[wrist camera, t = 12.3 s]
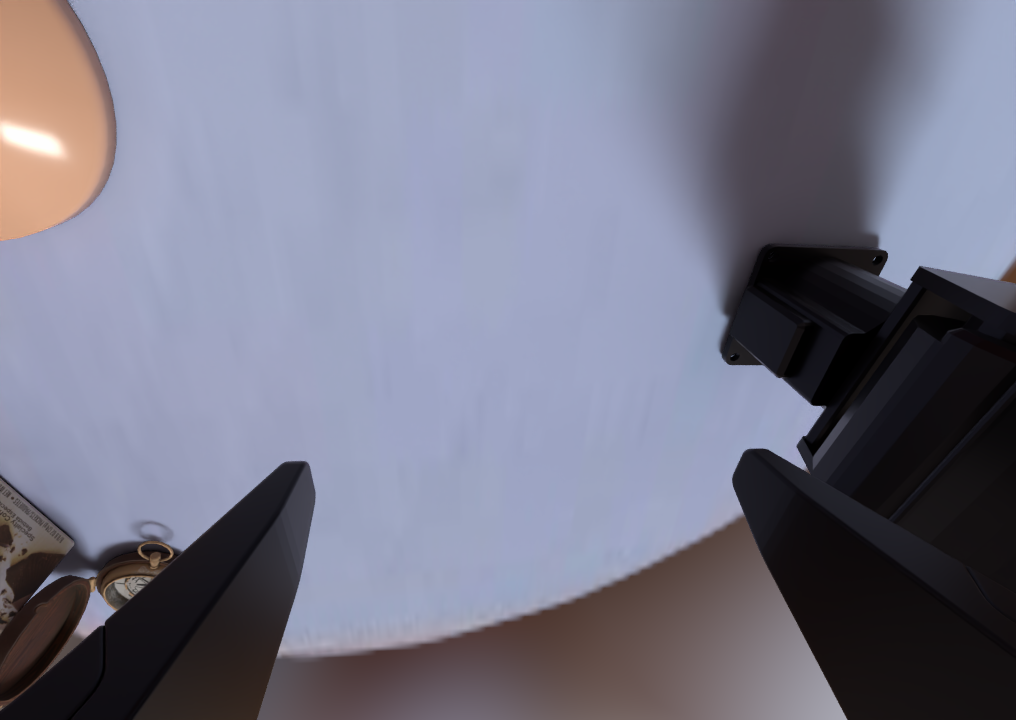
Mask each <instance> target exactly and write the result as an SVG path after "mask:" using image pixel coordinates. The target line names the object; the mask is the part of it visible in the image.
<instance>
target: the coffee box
mask: <svg viewBox="0 0 1016 720" xmlns="http://www.w3.org/2000/svg"><path fill="white" fill-rule="evenodd" d="M73 546H74V541H73V540H72V539H71V538H69V537H68V536H67V535H66V534H65V533H63V532H62V531H61V530H60V529H59V528H58V527H56V526H55V525H54V524H53V523H52V522H51V521H49V520H48V519H47V518H46V517H45V516H44V515H42V514H41V513H40V512H39V511H38V510H37V509H36V508H34V507H33V506H32V505H31V504H30V503H29V502H27V501H26V500H25V499H24V498H23V497H22V496H20V495H19V494H18V493H17V492H16V491H15V490H13V489H12V488H11V487H10V486H9V485H8V484H7V483H5V482H4V481H3V480H2V479H1V478H0V634H1V633H2V632H3V631H4V629H5V628H6V627H7V626H8V624H9V623H10V622H11V620H12V619H13V618H14V616H15V615H16V614H17V613H18V612H19V611H20V610H21V608H22V607H23V606H24V605H25V604H26V603H27V601H28V600H29V599H30V598H31V597H32V595H33V594H34V593H35V592H36V590H37V589H38V588H39V587H40V586H41V584H42V583H43V582H44V581H45V580H46V578H47V577H48V576H49V575H50V573H51V572H52V571H53V570H54V569H55V567H56V566H57V565H58V564H59V563H60V561H61V560H62V559H63V558H64V557H65V556H66V554H67V553H68V552H69V551H70V550H71V548H72V547H73Z"/></svg>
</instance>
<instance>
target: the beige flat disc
mask: <svg viewBox="0 0 1016 720" xmlns="http://www.w3.org/2000/svg"><path fill="white" fill-rule="evenodd" d="M115 151H116V120H115V113H114V106H113V101H112V97H111V93H110V90H109V86H108V82H107V79H106V76H105V73H104V71H103V68H102V66H101V63H100V61H99V58H98V56H97V53H96V51H95V49H94V47H93V45H92V43H91V41H90V39H89V37H88V36H87V34H86V32H85V30H84V28H83V26H82V24H81V23H80V21H79V19H78V18H77V16H76V15H75V13H74V11H73V10H72V8H71V7H70V5H69V4H68V2H67V0H0V241H3V240H9V239H15V238H21V237H24V236H27V235H31V234H34V233H37V232H40V231H43V230H45V229H48V228H51V227H54V226H56V225H59V224H62V223H64V222H66V221H68V220H70V219H72V218H74V217H76V216H77V215H79V214H80V213H81V212H82V211H84V210H85V209H86V208H88V207H89V206H90V205H91V204H92V203H93V201H94V200H95V199H96V198H97V197H98V196H99V195H100V193H101V191H102V190H103V188H104V186H105V184H106V183H107V181H108V179H109V176H110V173H111V170H112V167H113V164H114V157H115Z"/></svg>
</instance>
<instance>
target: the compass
mask: <svg viewBox="0 0 1016 720" xmlns="http://www.w3.org/2000/svg"><path fill="white" fill-rule="evenodd" d="M145 544H159V545H162V546H164V547H166V548H167V549H168V550H169V551H170V554H169V553H162V552H155V551H143V552H141V547H142V546H143V545H145ZM137 550H138V552H134V553H129V554H124V555H121V556H119V557H116V558H114V559H112V560H110V561H109V562H108V563H107V564H106V565H105V566H104V567H103V569H102V570H101V571H99V573H98V575H97V577H96V578H95V577H91V578H89V579H85V578H81V577H77V576H72V575H68V576H64V577H61V578H59V579H57V580H56V581H54V582H52V583H51V584H49V585H48V586H46V587H44V588H43V589H42V590H41V591H40V592H38V593H37V594H36V595H35V596H34V597H32V598H31V599H30V600H29V601H28V602H27V603H26V604H25V605H24V606H23V607H22V609H21V610H20V611H19V612H18V613H17V614H16V615H15V616H14V618H13V619H12V620H11V622H10V623H9V624H8V626H7V627H6V628H5V629H4V631H3V632H2V633H1V634H0V708H3V707H5V706H7V705H8V704H9V703H11V702H12V701H13V700H14V699H16V698H17V697H18V696H19V695H20V694H22V693H23V692H24V691H25V690H27V689H28V688H29V687H30V686H31V685H33V684H34V683H35V682H36V681H37V680H38V679H39V678H40V677H41V676H42V675H43V674H44V672H45V671H46V670H47V669H48V668H49V666H50V665H51V664H52V663H53V661H54V660H55V659H56V658H57V656H58V655H59V653H60V652H61V651H62V649H63V648H64V646H65V645H66V644H67V642H68V641H69V639H70V637H71V636H72V634H73V632H74V631H75V629H76V627H77V626H78V624H79V622H80V620H81V617H82V615H83V613H84V611H85V609H86V606H87V603H88V600H89V597H90V592H94V591H95V587H96V586H97V589H98V592H99V593H100V594H101V595H102V597H103V598H104V600H105V601H106V603H107V604H108V605H109V606H110V607H112V608H113V609H114V610H116V611H117V610H118V609H119V608H121V607H122V606H123V605H124V604H125V603H126V602H127V601H128V600H130V599H131V598H132V597H133V596H134V595H135V594H136V593H137V592H138V591H140V590H141V589H142V588H143V587H144V586H145V585H146V584H147V583H149V582H150V581H151V580H152V579H153V578H154V577H155V576H156V575H158V574H159V573H160V572H161V571H162V570H163V569H164V568H165V567H167V566H168V565H169V564H170V563H171V562H172V561H173V560H174V559H176V558H177V557H178V556H176V555H173V554H174V553H173V549H172V548H171V547H170V546H169V545H167V544H165V543H163V542H159V541H147V542H143V543H142V544H140V545H139V546H138V549H137Z"/></svg>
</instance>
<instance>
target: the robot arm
mask: <svg viewBox="0 0 1016 720" xmlns="http://www.w3.org/2000/svg"><path fill="white" fill-rule="evenodd" d="M773 252H774V255H773V256H772V257H771V258H770V259H769V256H770V254H771V253H773ZM875 257H876V258H875ZM874 258H875V260H874V261H873V259H874ZM887 259H888V253H887V252H886V251H884V250H881V249H879V248H869V247H843V246H817V245H791V244H769V245H767V246H765V247H764V248H763V249H762V250H761V251H760V253H759V255H758V258H757V261H756V264H755V266H754V269H753V272H752V274H751V277H750V280H749V282H748V285H747V288H746V290H745V292H744V295H743V298H742V300H741V303H740V306H739V309H738V311H737V314H736V317H735V319H734V322H733V325H732V328H731V330H730V334H729V337H728V339H727V342H726V345H725V347H724V350H723V353H722V358H723V360H724V361H725V362H726V363H727V364H729V365H764V366H765V367H766V368H767V369H768V370H769V371H771V372H772V373H773V374H774V375H775V376H776V377H778V378H782V379H783V380H784V381H785V382H786V383H788V384H789V385H790V386H791V387H792V388H793V389H794V390H795V391H797V392H798V393H799V394H800V395H801V396H802V397H803V398H804V399H806V400H807V401H808V402H809V403H810V404H811V405H813V406H821V407H822V408H824V411H823V412H822V414H821V415H820V417H819V418H818V420H817V421H816V422H815V424H814V425H813V427H812V428H811V430H810V431H809V433H808V434H807V436H803V437H802V438H801V440H800V441H799V443H798V444H797V448H798V450H799V452H800V454H801V456H802V458H803V460H804V462H805V464H806V466H807V468H808V470H809V472H810V474H809V473H807V472H806V471H804V470H802V469H800V468H799V467H797V466H795V465H793V464H792V463H790V462H788V461H787V460H785V459H783V458H781V457H780V456H778V455H776V454H775V453H773V452H771V451H769V450H767V449H747V450H746V451H744V453H743V454H742V456H741V459H740V461H739V463H738V465H737V467H736V469H735V472H734V474H733V478H732V483H733V487H734V490H735V492H736V495H737V497H738V500H739V502H740V505H741V507H742V510H743V512H744V515H745V517H746V519H747V522H748V524H749V527H750V529H751V532H752V534H753V537H754V539H755V542H756V544H757V546H758V548H759V551H760V553H761V555H762V557H763V559H764V561H765V563H766V565H767V567H768V569H769V571H770V573H771V575H772V577H773V578H774V580H775V582H776V584H777V586H778V588H779V590H780V592H781V594H782V595H783V597H784V599H785V601H786V603H787V605H788V607H789V609H790V611H791V613H792V615H793V616H794V618H795V620H796V622H797V624H798V626H799V628H800V630H801V632H802V634H803V636H804V638H805V640H806V641H807V643H808V645H809V647H810V649H811V651H812V653H813V655H814V656H815V659H816V660H817V662H818V664H819V666H820V668H821V670H822V672H823V674H824V676H825V678H826V680H827V681H828V683H829V685H830V687H831V689H832V691H833V693H834V695H835V697H836V699H837V700H838V703H839V705H840V706H841V708H842V710H843V712H844V714H845V716H846V718H847V720H1016V284H1014V283H1009V282H1004V281H999V280H993V279H988V278H983V277H977V276H972V275H966V274H961V273H956V272H950V271H945V270H940V269H934V268H929V267H923V266H919V268H918V269H917V271H916V272H915V274H914V275H913V277H912V278H911V279H910V280H911V281H913V282H912V283H911V285H910V286H909V288H908V289H905V288H903V287H901V286H899V285H897V284H894V283H892V282H890V281H888V280H886V279H883V278H881V277H879V275H880V273H881V271H882V269H883V267H884V265H885V263H886V261H887ZM734 353H735V355H734V356H732V355H733V354H734ZM731 356H732V357H731ZM314 505H315V488H314V483H313V479H312V474H311V470H310V466H309V464H308V463H307V462H306V461H288V462H284V463H282V464H281V465H280V466H279V467H278V468H277V469H275V470H274V471H273V472H272V473H271V474H270V475H269V476H268V477H266V478H265V479H264V480H263V481H262V482H261V483H260V484H259V485H257V486H256V487H255V488H254V489H253V490H252V491H251V492H250V493H248V494H247V495H246V496H245V497H244V498H243V499H242V500H241V501H240V502H238V503H237V504H236V505H235V506H234V507H233V508H232V509H231V510H229V511H228V512H227V513H226V514H225V515H224V516H223V517H222V518H220V519H219V520H218V521H217V522H216V523H215V524H214V525H213V526H211V527H210V528H209V529H208V530H207V531H206V532H205V533H204V534H202V535H201V536H200V537H199V538H198V539H197V540H196V541H195V542H193V543H192V544H191V545H190V546H189V547H188V548H187V549H186V550H185V551H183V552H182V553H181V554H180V555H179V556H178V557H177V558H176V559H174V560H173V561H172V562H171V563H170V564H169V565H168V566H167V567H165V568H164V569H163V570H162V571H161V572H160V573H159V574H158V575H156V576H155V577H154V578H153V579H152V580H151V581H150V582H149V583H147V584H146V585H145V586H144V587H143V588H142V589H141V590H140V591H138V592H137V593H136V594H135V595H134V596H133V597H132V598H131V599H130V600H128V601H127V602H126V603H125V604H124V605H123V606H122V607H121V608H119V609H118V610H117V611H116V612H115V613H114V614H113V615H112V616H110V617H109V618H108V619H107V620H106V621H105V626H99V627H98V628H97V629H96V630H94V631H93V632H92V633H91V634H90V635H89V636H88V637H87V638H85V639H84V640H83V641H82V642H81V643H80V644H79V645H78V646H76V647H75V648H74V649H73V650H72V651H71V652H70V653H68V654H67V655H66V656H65V657H64V658H63V659H62V660H60V661H59V662H58V663H57V664H56V665H55V666H53V667H52V668H51V669H50V670H49V671H48V672H46V673H45V674H44V675H43V676H42V677H41V678H39V679H38V680H37V681H36V682H35V683H34V684H33V685H31V686H30V687H29V688H28V689H27V690H25V691H24V692H23V693H22V694H20V695H19V696H18V697H17V698H16V699H14V700H13V701H12V702H11V703H9V704H8V705H7V706H6V707H4V708H3V709H2V710H1V711H0V720H257V717H258V714H259V711H260V708H261V705H262V701H263V698H264V695H265V692H266V688H267V685H268V682H269V679H270V676H271V673H272V669H273V666H274V663H275V660H276V657H277V653H278V650H279V647H280V644H281V641H282V637H283V634H284V631H285V628H286V625H287V621H288V618H289V615H290V612H291V609H292V605H293V602H294V599H295V596H296V592H297V589H298V585H299V582H300V577H301V573H302V568H303V563H304V558H305V552H306V547H307V542H308V537H309V532H310V526H311V521H312V516H313V511H314Z"/></svg>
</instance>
